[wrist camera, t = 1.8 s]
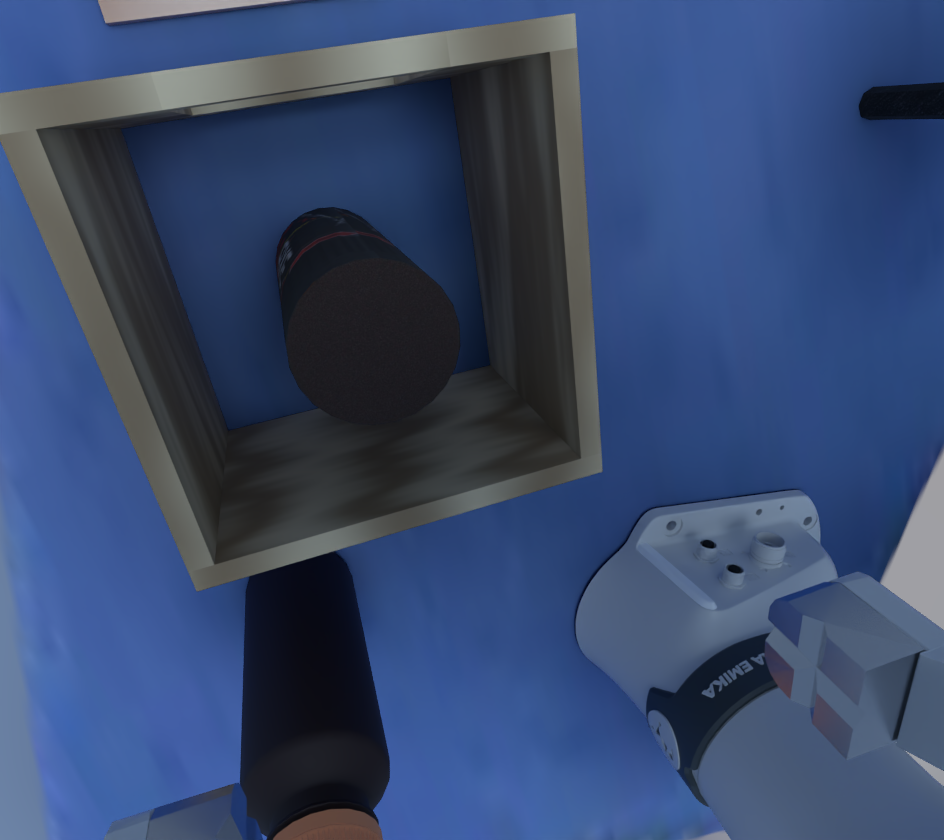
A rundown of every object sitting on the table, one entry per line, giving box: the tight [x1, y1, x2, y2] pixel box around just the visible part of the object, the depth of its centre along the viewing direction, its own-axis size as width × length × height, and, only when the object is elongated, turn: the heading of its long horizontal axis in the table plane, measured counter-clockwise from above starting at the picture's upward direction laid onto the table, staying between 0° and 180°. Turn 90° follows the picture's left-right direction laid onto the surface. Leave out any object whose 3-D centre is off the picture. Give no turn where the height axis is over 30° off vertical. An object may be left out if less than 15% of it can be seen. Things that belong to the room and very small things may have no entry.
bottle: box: [240, 552, 390, 840], centre depth 34 cm, size 7×7×20 cm
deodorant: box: [276, 207, 460, 425], centre depth 28 cm, size 6×6×15 cm
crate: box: [0, 13, 603, 591], centre depth 29 cm, size 18×18×13 cm
